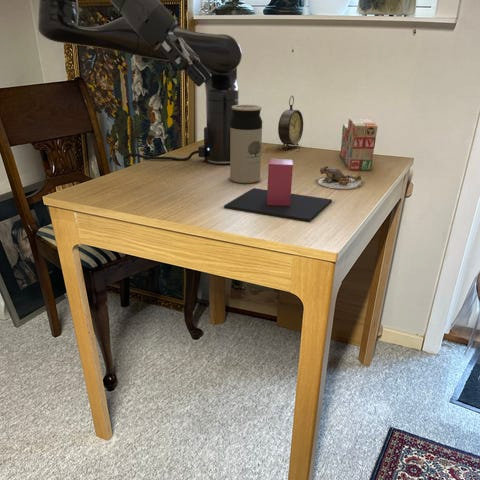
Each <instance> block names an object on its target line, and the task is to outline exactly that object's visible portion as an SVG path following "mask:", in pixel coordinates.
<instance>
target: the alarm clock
mask: <svg viewBox="0 0 480 480" xmlns="http://www.w3.org/2000/svg"><path fill="white" fill-rule="evenodd" d="M291 98H292V104H291ZM294 103H295V98H294V95H290V97H289V100H288V105H289V109H285V110H284V111H283V112H282V113H281V115H280V117H279V120H278V124H277V132H278V133H277V134H278V139H279V141H280V142H281V143H282V144H283V145H282V147H284V146H285V148H284V150H285V151H287V150H288V147H289V146H299V143H300V141H301V139H302V136H303V134H304V133H303V131H304V117H303V114H302V112H301V111H300V110H299V109H293V107H294Z"/></svg>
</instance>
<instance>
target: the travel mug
mask: <svg viewBox="0 0 480 480" xmlns="http://www.w3.org/2000/svg"><path fill="white" fill-rule="evenodd" d="M232 109H233V116H232V119H231V124H230V164H229V179H230V180H231V181H232V182H234V183H236V184H237V183H238V184H253V183H257V182H259V181H260V180H261V170H262V169H261V168H262V167H261V166H262V143H263V142H262V141H263V119H262V116H261V110H262V109H263V107H262V106H260V105H257V104H238V105H234V106H232Z"/></svg>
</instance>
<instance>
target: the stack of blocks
mask: <svg viewBox="0 0 480 480" xmlns="http://www.w3.org/2000/svg"><path fill="white" fill-rule="evenodd" d="M347 122H348V123H343V124H342V130H341V142H340V143H341V145H340V153H339V154H340V155H341V158H342V160H343V161H344V162H345V164H346V166H347V168H348V170H349V171H372V167H373V158H374V151H375V146H376V139H377V133H378V127H379V126H378V125H377V124H376V122H374V121H373V120H371V119H370V118H352V117H351V118H348V121H347Z"/></svg>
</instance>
